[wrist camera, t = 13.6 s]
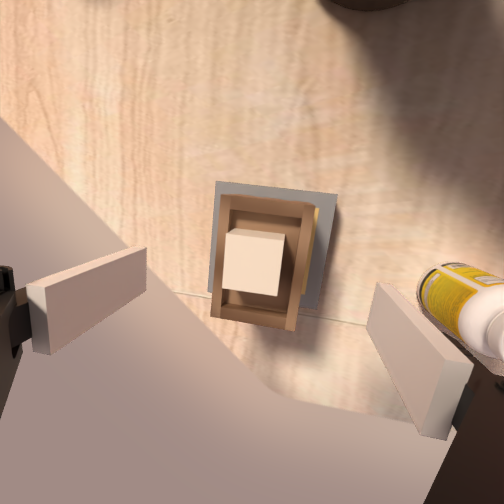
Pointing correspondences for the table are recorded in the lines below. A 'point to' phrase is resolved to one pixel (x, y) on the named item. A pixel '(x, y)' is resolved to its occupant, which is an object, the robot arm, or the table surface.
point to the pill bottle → (466, 304)
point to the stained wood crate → (292, 267)
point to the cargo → (253, 261)
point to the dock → (317, 240)
